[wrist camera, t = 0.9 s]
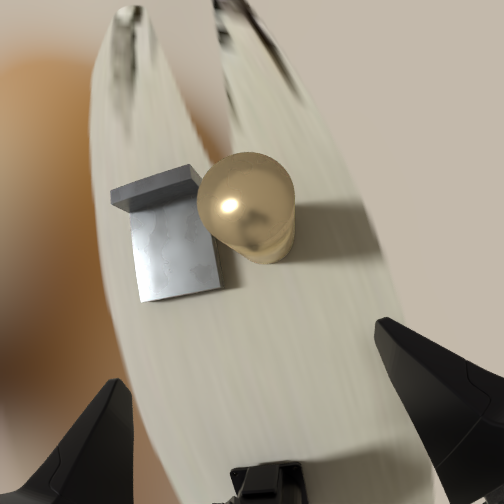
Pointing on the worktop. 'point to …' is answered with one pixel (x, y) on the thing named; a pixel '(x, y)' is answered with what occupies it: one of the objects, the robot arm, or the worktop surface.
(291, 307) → the worktop surface
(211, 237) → the press bed
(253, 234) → the ball
